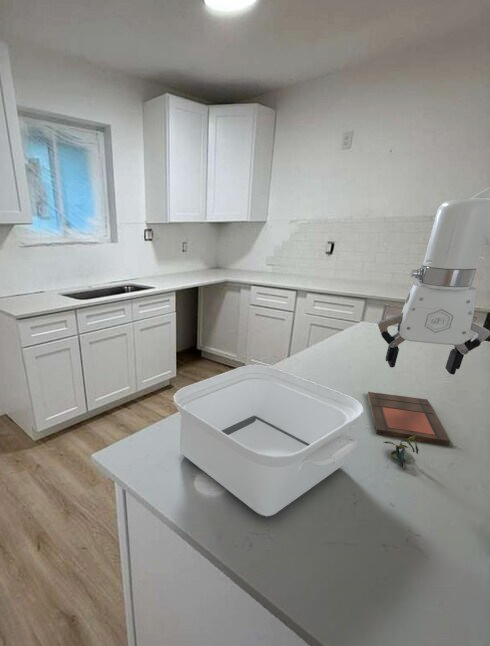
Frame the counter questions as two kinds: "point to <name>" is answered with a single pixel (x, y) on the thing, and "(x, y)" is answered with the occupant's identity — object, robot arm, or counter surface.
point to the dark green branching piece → (401, 453)
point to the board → (406, 418)
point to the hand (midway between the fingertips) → (419, 368)
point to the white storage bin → (265, 433)
